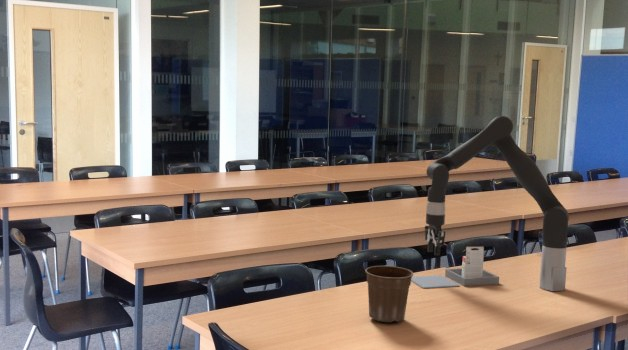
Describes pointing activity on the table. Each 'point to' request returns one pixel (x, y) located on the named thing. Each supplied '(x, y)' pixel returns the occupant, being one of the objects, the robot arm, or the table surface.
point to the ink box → (473, 263)
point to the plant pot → (388, 292)
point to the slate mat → (433, 281)
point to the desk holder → (484, 280)
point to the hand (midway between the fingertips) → (433, 253)
